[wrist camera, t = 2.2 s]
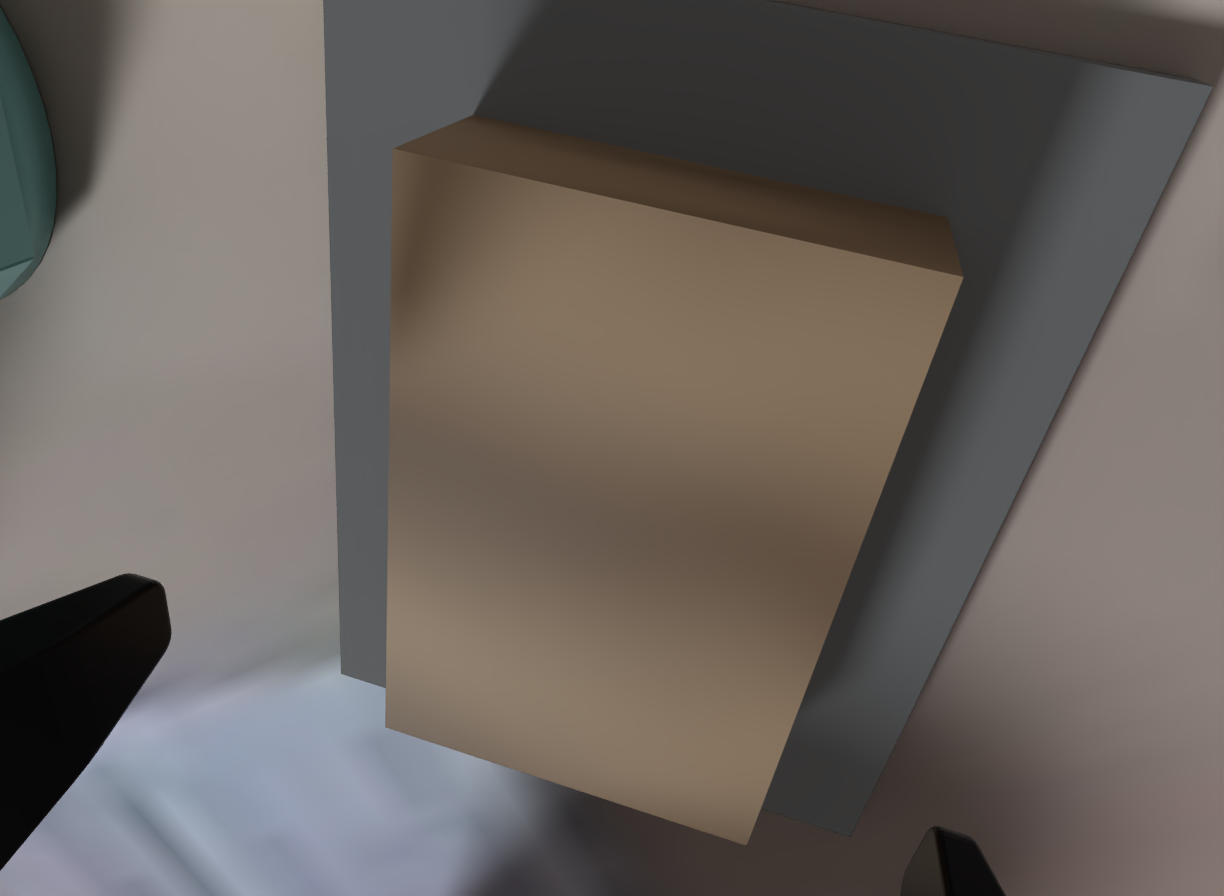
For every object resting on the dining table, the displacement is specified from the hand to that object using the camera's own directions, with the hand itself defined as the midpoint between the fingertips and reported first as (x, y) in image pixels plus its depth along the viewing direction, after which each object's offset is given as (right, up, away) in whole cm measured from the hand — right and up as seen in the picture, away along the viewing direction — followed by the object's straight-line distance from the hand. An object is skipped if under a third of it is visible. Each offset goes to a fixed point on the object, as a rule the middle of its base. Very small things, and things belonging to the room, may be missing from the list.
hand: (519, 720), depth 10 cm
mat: (+2, +3, +5) cm, 6 cm away
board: (+1, +3, +5) cm, 5 cm away
